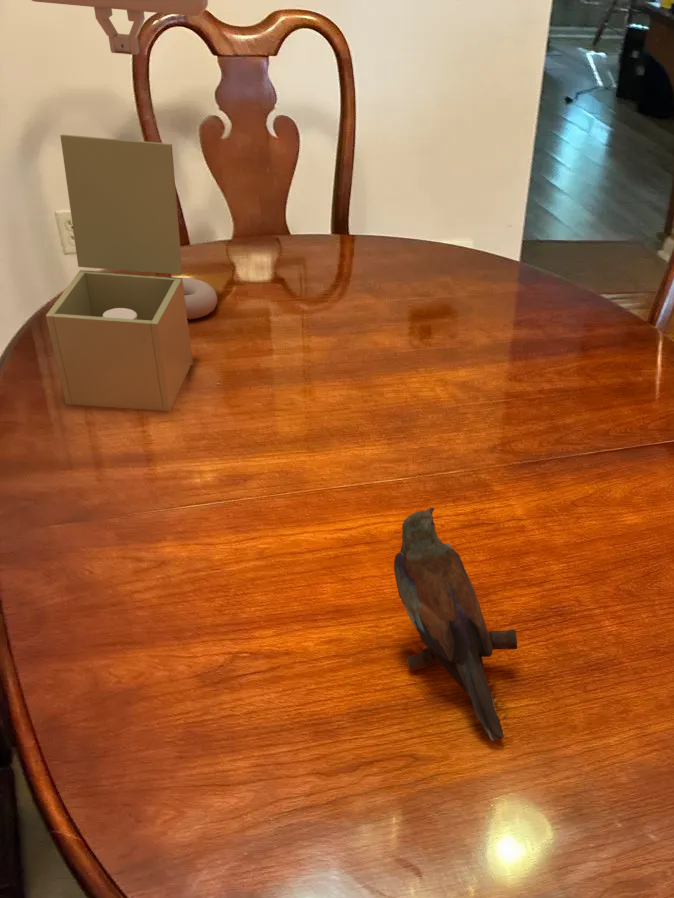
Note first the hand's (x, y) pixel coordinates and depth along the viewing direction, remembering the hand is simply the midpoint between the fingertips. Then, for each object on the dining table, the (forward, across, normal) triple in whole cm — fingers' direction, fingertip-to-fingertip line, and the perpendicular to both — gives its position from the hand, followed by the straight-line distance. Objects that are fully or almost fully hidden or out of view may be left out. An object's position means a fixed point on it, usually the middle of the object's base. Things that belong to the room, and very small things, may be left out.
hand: (125, 53), depth 114 cm
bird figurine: (+35, -42, +66) cm, 86 cm away
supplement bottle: (+34, 0, +18) cm, 39 cm away
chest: (+35, 0, +18) cm, 39 cm away
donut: (+35, -1, -8) cm, 36 cm away
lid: (+14, 0, +10) cm, 18 cm away
